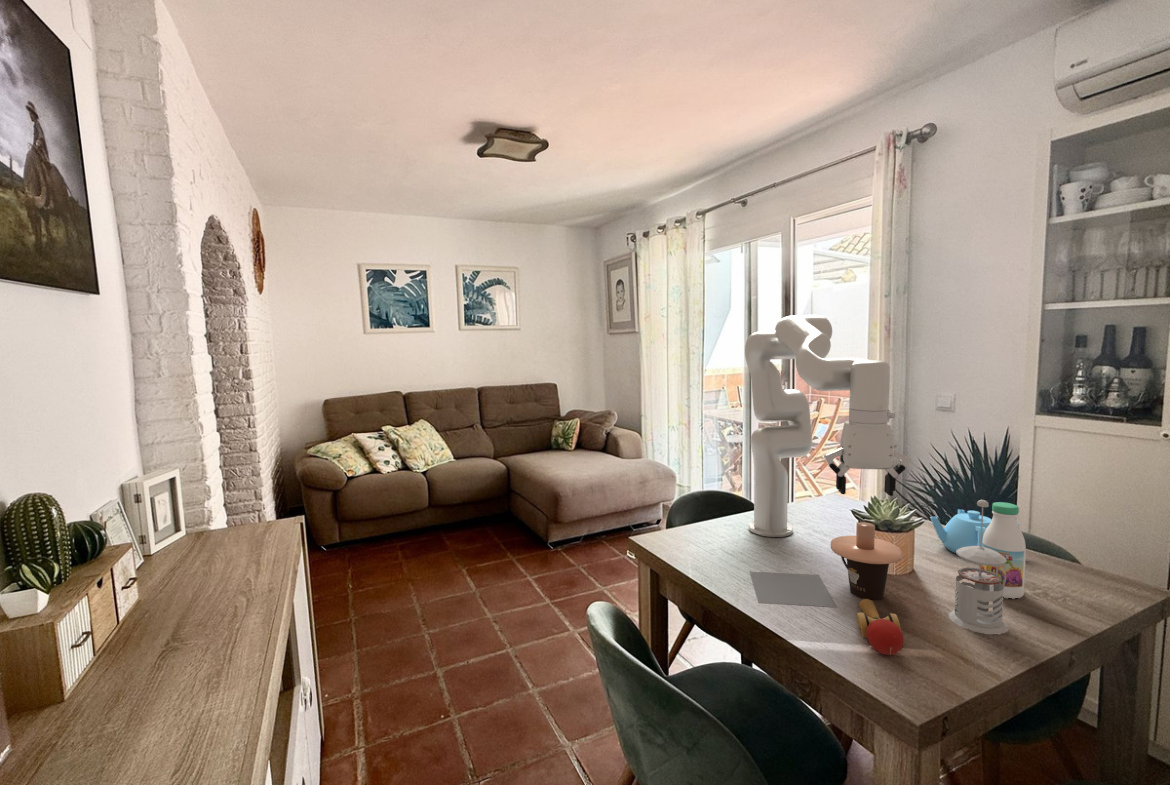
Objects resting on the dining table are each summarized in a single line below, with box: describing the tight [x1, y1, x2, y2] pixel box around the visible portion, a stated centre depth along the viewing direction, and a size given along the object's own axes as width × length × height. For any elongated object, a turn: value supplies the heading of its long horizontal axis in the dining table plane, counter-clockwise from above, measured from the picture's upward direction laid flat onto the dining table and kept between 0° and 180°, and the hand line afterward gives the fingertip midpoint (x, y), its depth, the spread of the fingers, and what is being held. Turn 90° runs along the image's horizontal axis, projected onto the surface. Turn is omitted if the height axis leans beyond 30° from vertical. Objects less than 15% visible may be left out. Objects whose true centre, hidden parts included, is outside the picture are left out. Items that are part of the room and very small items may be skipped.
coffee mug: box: [840, 556, 890, 601], centre depth 120 cm, size 12×9×10 cm
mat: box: [749, 570, 839, 608], centre depth 122 cm, size 16×16×1 cm
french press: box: [948, 499, 1008, 635], centre depth 107 cm, size 10×12×25 cm
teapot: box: [929, 508, 1020, 555], centre depth 143 cm, size 15×15×11 cm
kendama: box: [856, 599, 905, 656], centre depth 104 cm, size 8×6×18 cm
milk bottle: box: [981, 501, 1027, 600], centre depth 119 cm, size 8×8×20 cm
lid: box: [830, 521, 903, 565], centre depth 119 cm, size 14×14×6 cm
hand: (865, 493), depth 119 cm, fingers open, 9 cm apart
